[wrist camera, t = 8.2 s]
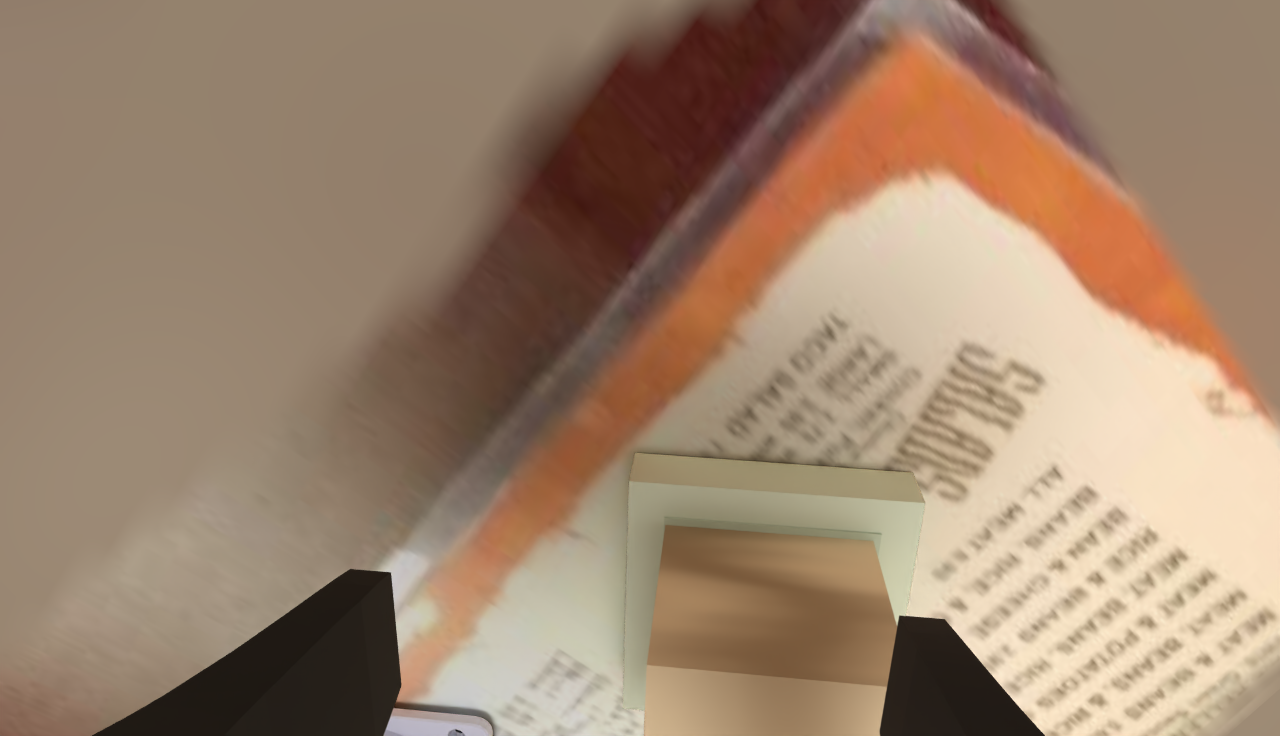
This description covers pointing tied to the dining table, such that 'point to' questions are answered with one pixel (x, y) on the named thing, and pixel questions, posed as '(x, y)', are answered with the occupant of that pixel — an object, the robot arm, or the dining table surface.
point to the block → (767, 636)
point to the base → (759, 524)
